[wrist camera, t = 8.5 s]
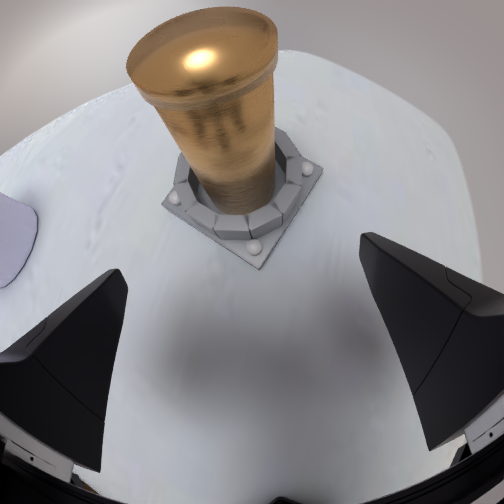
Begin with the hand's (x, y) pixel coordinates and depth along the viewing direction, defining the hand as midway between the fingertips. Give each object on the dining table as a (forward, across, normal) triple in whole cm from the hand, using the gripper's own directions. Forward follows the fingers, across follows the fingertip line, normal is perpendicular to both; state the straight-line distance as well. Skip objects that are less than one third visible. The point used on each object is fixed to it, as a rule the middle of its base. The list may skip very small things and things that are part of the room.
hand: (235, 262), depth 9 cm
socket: (+12, 0, +2) cm, 12 cm away
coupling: (+12, 0, +1) cm, 12 cm away
